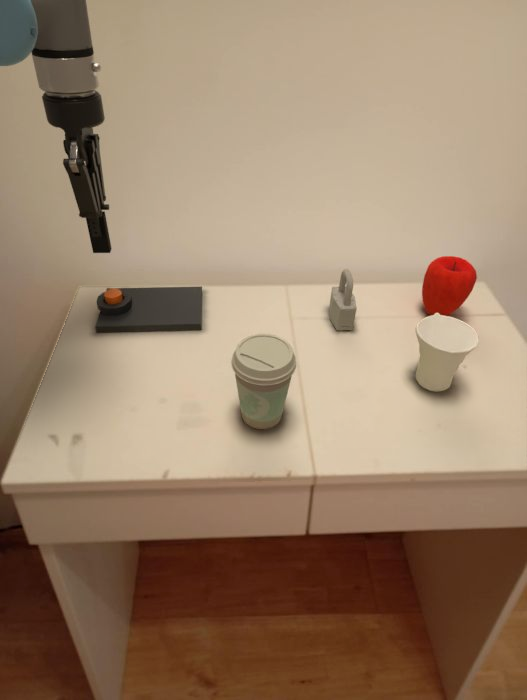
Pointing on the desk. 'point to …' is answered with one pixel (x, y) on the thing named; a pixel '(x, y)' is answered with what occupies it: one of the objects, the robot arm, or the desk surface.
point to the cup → (442, 349)
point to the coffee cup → (263, 378)
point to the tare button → (113, 296)
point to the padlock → (343, 303)
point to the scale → (151, 310)
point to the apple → (447, 284)
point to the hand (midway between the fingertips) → (102, 250)
